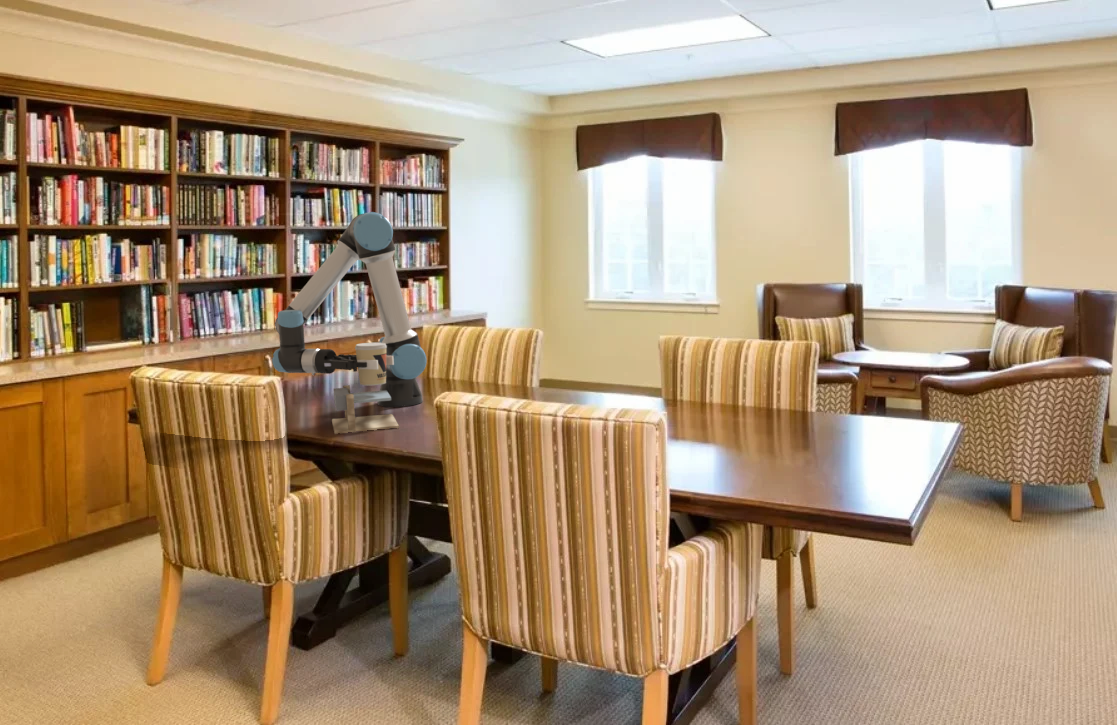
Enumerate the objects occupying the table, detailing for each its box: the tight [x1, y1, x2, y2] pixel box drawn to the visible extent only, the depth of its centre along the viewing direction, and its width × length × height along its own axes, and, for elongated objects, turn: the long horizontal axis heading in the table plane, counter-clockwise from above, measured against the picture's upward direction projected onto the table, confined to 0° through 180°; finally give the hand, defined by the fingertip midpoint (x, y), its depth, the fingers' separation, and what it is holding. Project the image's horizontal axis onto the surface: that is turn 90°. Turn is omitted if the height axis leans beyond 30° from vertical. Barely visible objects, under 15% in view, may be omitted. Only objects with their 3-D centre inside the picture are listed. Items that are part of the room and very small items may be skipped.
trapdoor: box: [333, 387, 391, 412], centre depth 275 cm, size 16×14×4 cm
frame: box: [331, 384, 400, 435], centre depth 276 cm, size 18×19×11 cm
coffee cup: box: [354, 341, 387, 387], centre depth 275 cm, size 9×9×12 cm
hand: (385, 362), depth 273 cm, fingers closed on coffee cup, 8 cm apart
